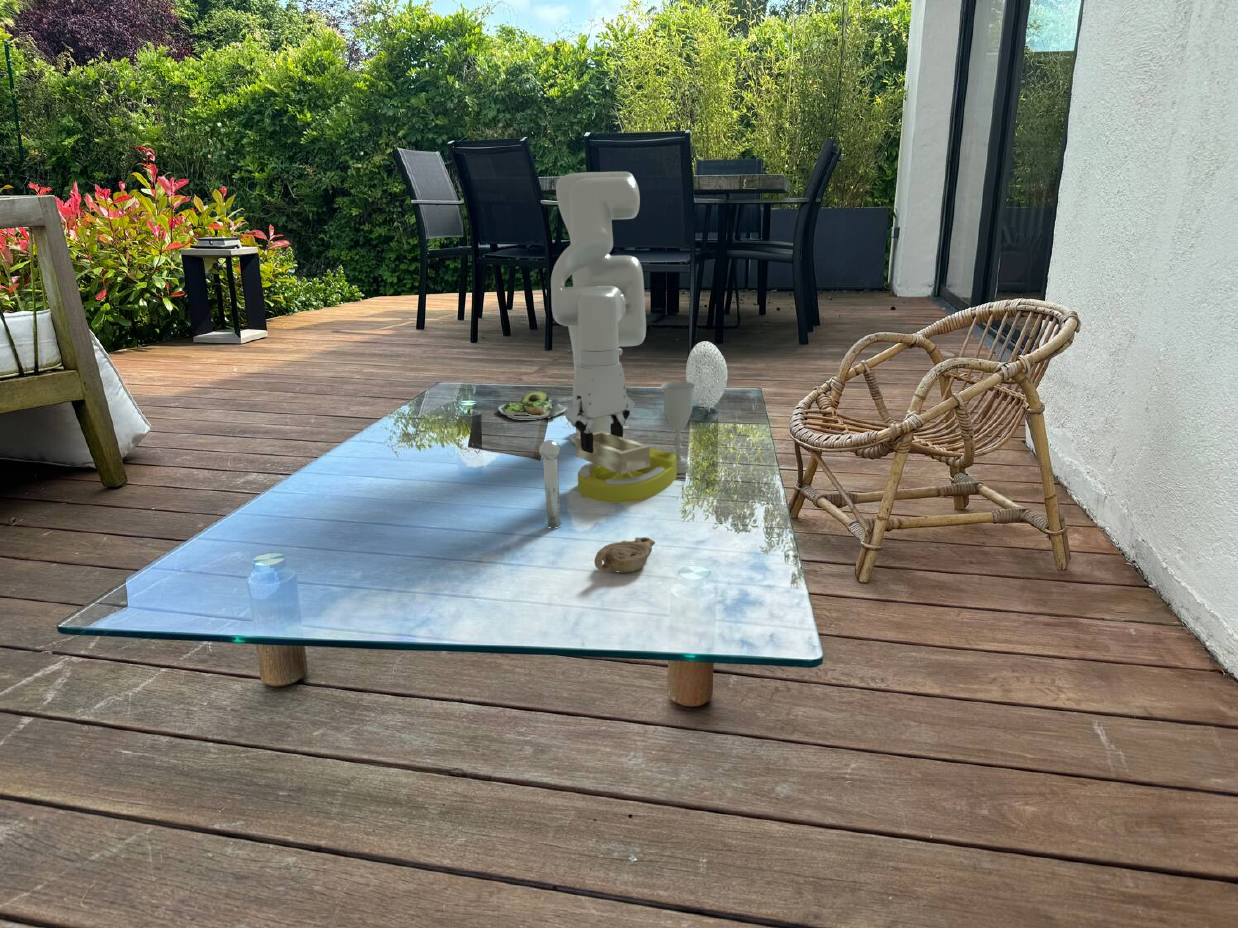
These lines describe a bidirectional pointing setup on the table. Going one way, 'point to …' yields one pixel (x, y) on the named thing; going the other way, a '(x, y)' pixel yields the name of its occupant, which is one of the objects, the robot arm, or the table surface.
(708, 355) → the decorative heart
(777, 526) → the table surface
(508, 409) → the salad plate
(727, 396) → the table surface
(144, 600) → the table surface
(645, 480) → the yellow-green spoked oval frame
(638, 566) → the oil lamp
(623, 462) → the link
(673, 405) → the chalice
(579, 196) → the robot arm
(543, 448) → the silver metal pin
